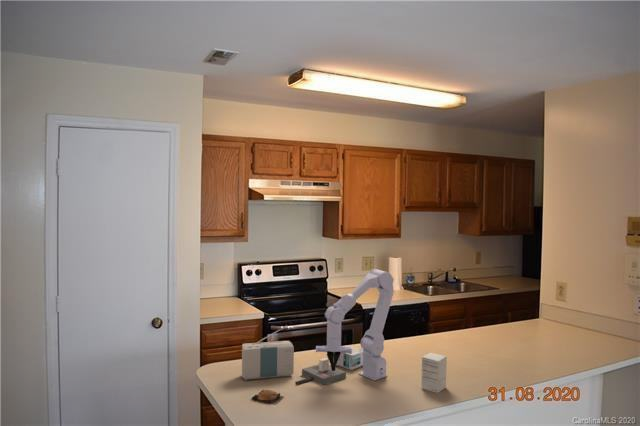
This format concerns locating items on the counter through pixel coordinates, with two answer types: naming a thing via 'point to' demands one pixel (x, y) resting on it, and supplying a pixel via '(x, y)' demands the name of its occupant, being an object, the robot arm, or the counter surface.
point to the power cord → (303, 380)
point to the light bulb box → (351, 358)
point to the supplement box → (434, 372)
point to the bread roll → (268, 397)
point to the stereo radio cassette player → (267, 359)
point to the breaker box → (323, 374)
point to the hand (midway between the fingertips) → (333, 370)
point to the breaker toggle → (323, 364)
